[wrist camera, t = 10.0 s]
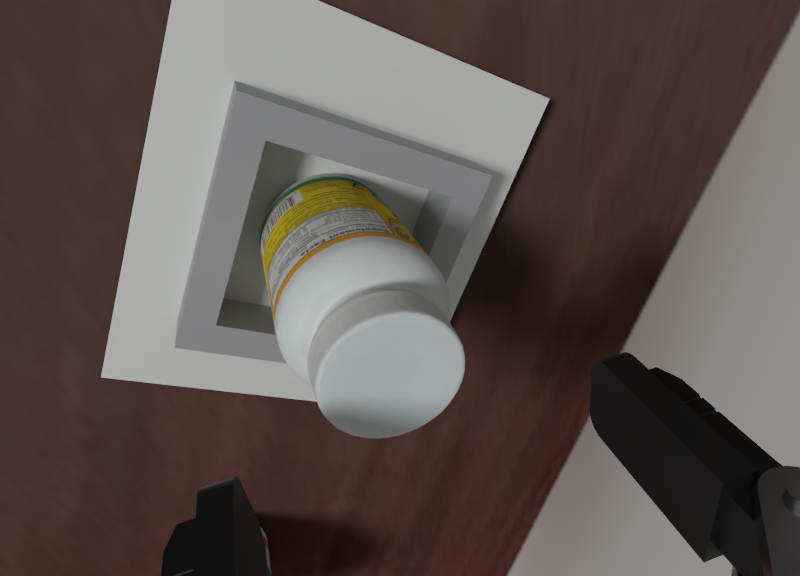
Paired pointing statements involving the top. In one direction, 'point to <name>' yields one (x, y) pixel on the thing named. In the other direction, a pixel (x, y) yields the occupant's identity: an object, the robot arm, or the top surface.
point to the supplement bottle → (359, 308)
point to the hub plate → (293, 174)
